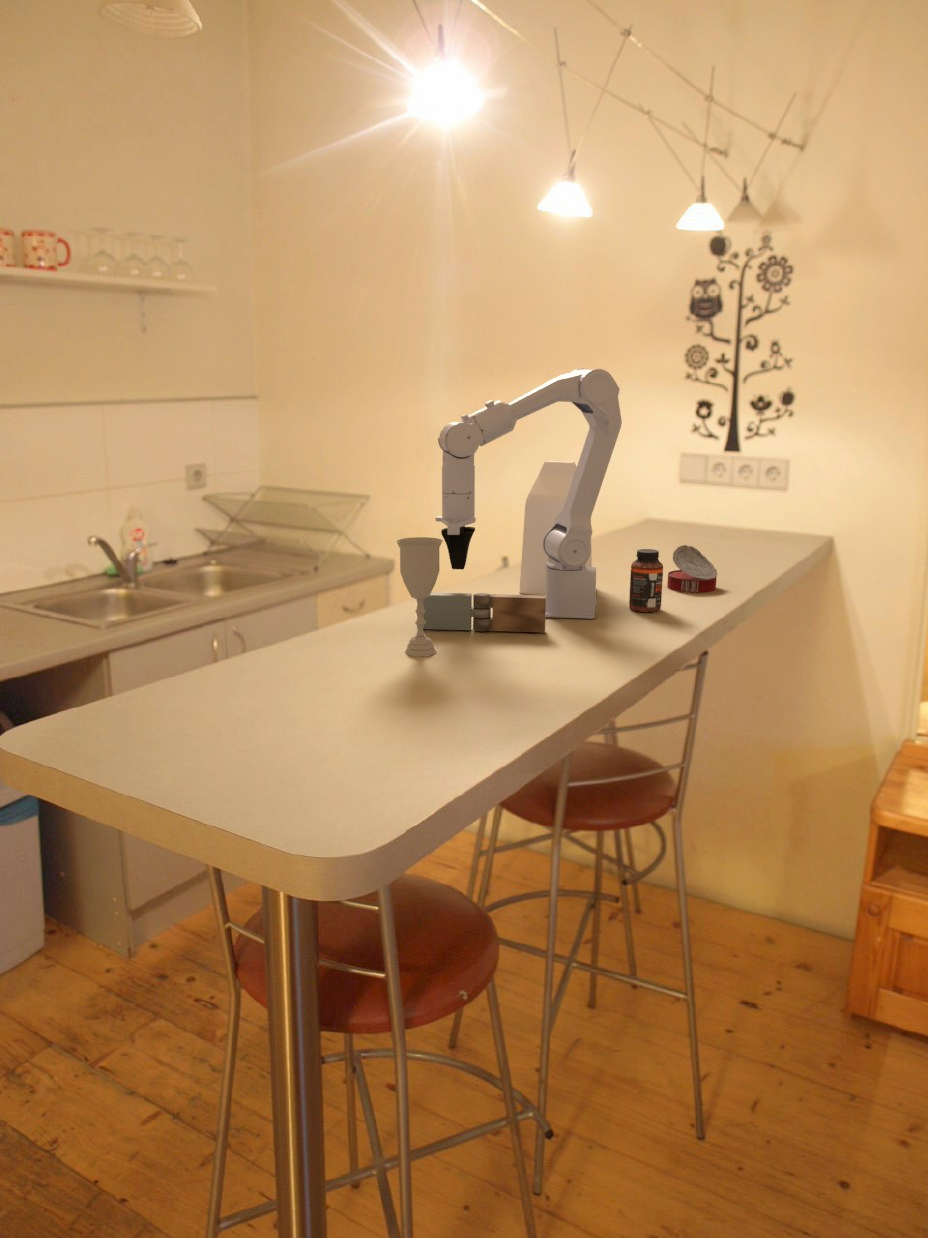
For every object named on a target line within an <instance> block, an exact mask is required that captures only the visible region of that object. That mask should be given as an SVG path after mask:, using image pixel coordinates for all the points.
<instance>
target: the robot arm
mask: <svg viewBox="0 0 928 1238" xmlns="http://www.w3.org/2000/svg"><path fill="white" fill-rule="evenodd" d="M620 390H621V389H620V387H619V386H618V384H617V382H616V380H615V378H614V377H613V376H612V375H611V373H610V372H609V371H607V370H606V369H602V368H595V369H586V368H577V369H574V370H572V371H570V373H564V374H560V375H558V376H557V377H554V378H552V379H550V380H548V381H547V382H545V383H544V384H542V385H540V386H538V387H536V388H534V389H533V390H531V391H529V392H526V393H525V394H524V395H521V396H519V397H518V398H517V399H514V400H512V401H510V402H509V403H507V402H505V401H502V400H497V401H494V400H489V401H487V402H485V403H484V406H485V407H483V408H481V409H479V410H477V411H475V412H472V413H471V414H469V415H468V414H466V413H465V414H463V415H461V416H460V418H461V419H460V420H461V422H459V421H453V422H449V423H447V424H446V425H444V426H443V427H442V429H441V431H440V433H439V437H438V438H437V442H438V443H437V444H438V446H439V448H440V450H441V451H442V465H441V515H437V516H435V522H439V523H440V522H441V523H442V524H443V525H445V526H446V527H445V528H442V529H441V533H440V534H441V535H442V538H443V540H444V542H445V544H446V547H447V551H448V556H449V561H450V566H451V569H452V570H464V569H465V567H466V563H467V558H468V552H469V547H470V543H471V539H472V537H473V535H474V533H475V531H476V527H474V526H469V525H472V524H473V523H476V521H477V520H476V519H477V518H476V516H475V510H476V509H475V506H476V505H475V495H476V493H475V490H476V489H475V487H476V485H475V484H476V483H475V482H476V481H475V479H476V475H475V474H476V471H475V468H476V467H475V454H476V452H477V451H478V449H479V447H483V446H486V445H487V444H490V443H491V442H493V441H495V440H497V439H499V438H501V437H503V436H505V435H507V434H509V433H511V432H513V431H514V429H515V427H516V424H517V422H518V420H521V419H522V418H523V419H524V418H525V417H527V416H530V415H531V414H534V413H536V412H538V411H540V410H542V409H545V408H547V407H548V406H549V407H550V406H551V405H553V404H556V403H558V402H562V403H564V402H566V403H568V402H569V403H572V404H573V405H574V406H575V407H576V408H577V409H578V410H579V411H580V412H581V413H582V415H583V417H584V418H585V420H586V422H587V424H588V426H589V429H588V431H587V435H586V438H585V440H584V443H583V447H582V450H581V453H580V456H579V460H578V461H577V462H578V463H577V465H576V467H577V468H576V471H575V474H574V477H573V480H572V483H571V486H570V489H569V492H568V495H567V498H566V501H565V505H564V508H563V510H562V511H561V513H560V514H559V515H558V516H557V517H556V518H555V520H554V523H553V525H552V527H551V528H550V530H549V531H548V532H547V533H546V534H545V536H544V538H543V549H544V552H545V553H546V555H547V556H548V560H547V562H546V591H545V595H544V596H546V618H562V619H566V618H567V619H591V620H592V619H593V620H594V619H595V617H596V614H595V613H596V608H597V607H598V596H597V597H596V590H597V588H596V586H597V568H596V567H593V566H592V567H586V562H587V561H588V559H589V557H590V554H591V549H592V544H591V545H590V539H591V540H592V536H593V535H592V534H593V528H592V516H593V515H592V514H593V512H594V509H595V506H596V503H597V500H598V498H599V494H600V491H601V488H602V485H603V482H604V479H605V477H606V473H607V470H608V467H609V465H610V461H611V458H612V456H613V451H614V450H615V447H616V443H617V440H618V436H619V435H620V431H621V427H622V423H623V422H622V416H621V415H622V414H621V409H620V408H621V407H620V402H619V394H620ZM590 519H591V520H590ZM467 525H468V526H467Z"/></svg>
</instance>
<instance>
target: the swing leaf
mask: <svg viewBox="0 0 928 1238" xmlns="http://www.w3.org/2000/svg"><path fill="white" fill-rule="evenodd" d="M472 599H473V598H472V593H462V592H431V594H430V596H429V597H428V598H425V599H424V602H423V606H424V610H425V613H424V615H423V618H424V621H425V622H426V623H425V624H424V628H423V630H449V631H450V630H452V631H453V630H454V631H471V630H472V618H473V617H476V618H489V617H492V615H491V613H492V611H491V609H492V608H485V609H480V608H474V607H473V600H472Z"/></svg>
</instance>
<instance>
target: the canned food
mask: <svg viewBox="0 0 928 1238" xmlns="http://www.w3.org/2000/svg"><path fill="white" fill-rule="evenodd" d="M672 561H673V563H674V565H675V566H676V567H677V568H678V570H671V571H668V573H667V581H666V583H667V585H666V587H667V589H668V590H671V591H673V592H677V593H683V594H709V593H713V592H715V591H717V590H716V589H717V576H718V571H717V569H716V567H715V566H714V565H713V563H712V562H711V561H709V559H708V558H707V557H706V556H705V555H703V554H702V553H701V552H700V551H699V549H697V548H696V547H694V546H692V545H686V544H685V545H684V544H683V545H680V546H677V548H675V550H674V551H673V553H672Z"/></svg>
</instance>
